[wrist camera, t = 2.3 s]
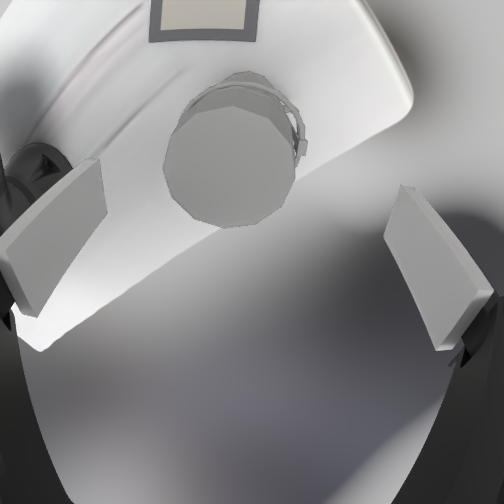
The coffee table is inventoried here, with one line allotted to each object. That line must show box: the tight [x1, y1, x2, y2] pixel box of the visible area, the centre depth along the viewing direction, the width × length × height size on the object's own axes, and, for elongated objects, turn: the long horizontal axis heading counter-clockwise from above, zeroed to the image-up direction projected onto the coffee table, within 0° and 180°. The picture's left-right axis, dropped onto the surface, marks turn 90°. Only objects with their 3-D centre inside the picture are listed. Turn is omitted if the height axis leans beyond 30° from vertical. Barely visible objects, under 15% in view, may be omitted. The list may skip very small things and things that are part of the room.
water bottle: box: [163, 71, 308, 228], centre depth 24 cm, size 9×8×25 cm
